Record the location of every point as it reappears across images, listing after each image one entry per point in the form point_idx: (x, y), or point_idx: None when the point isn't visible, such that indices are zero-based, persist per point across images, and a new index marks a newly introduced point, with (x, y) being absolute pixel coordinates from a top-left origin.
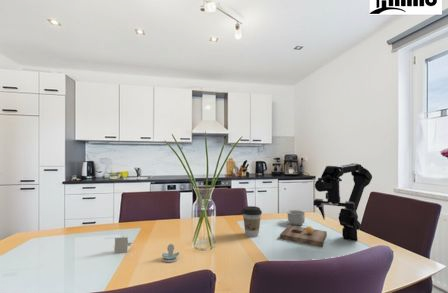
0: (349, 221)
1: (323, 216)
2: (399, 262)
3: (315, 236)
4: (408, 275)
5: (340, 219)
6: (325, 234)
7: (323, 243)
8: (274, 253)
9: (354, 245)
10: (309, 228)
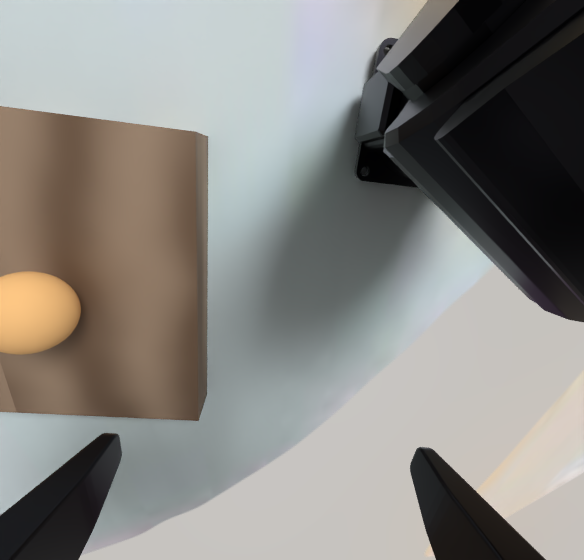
0: (537, 301)
1: (74, 541)
2: (558, 412)
3: (128, 340)
4: (519, 494)
5: (410, 176)
6: (197, 245)
7: (205, 351)
8: None
9: (409, 282)
10: (21, 353)
